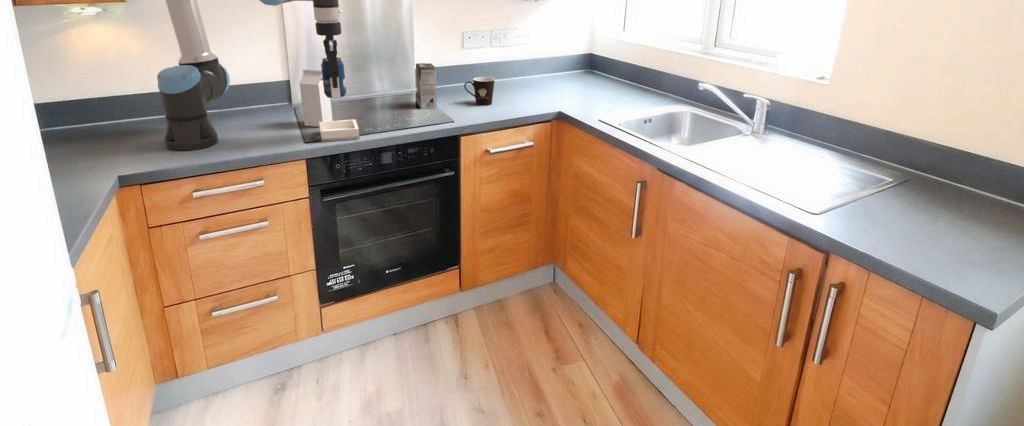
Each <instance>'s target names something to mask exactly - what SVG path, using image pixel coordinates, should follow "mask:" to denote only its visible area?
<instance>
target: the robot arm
mask: <svg viewBox="0 0 1024 426" xmlns="http://www.w3.org/2000/svg"><path fill="white" fill-rule="evenodd" d="M296 1H298V2H301V1H302V2H306V1H307V2H312V5H313V7H312V8H313V14H314V15H313V17H314V20H315V21H316V22H315V31H316V35H318V36H325V37H324V40H322V42H323V46H324V53H325V56H326V58H328V62H329V70H330V75H329V76H328V78H330V85H331V94H332V98H331V99H341V95H340V85H339V77H338V76H339V73H338V66H337V58H338V57H337V56H338V50H337V48H338V42H337V39H335V38H334V36H340V35H341V34H342V24H341V22H340V20H341V18H340V14H341V13H342V10H341V9H340V8H339V0H259V2H260V3H262V4H264V5H267V6H279V5H281V4H285V3H291V2H296ZM165 3H166V7H167V10H168V14H169V17H170V20H171V21H170V22H171V23H172V27H173V31H174V34H175V37H176V40H177V44H178V48H179V51H180V54H181V56H180V58H179V60H178V65H175V66H169V67H166V68H163V69H162V70H160V71H159V72H158V73H157V75H156V79H157V87H158V90H159V95H160V98H161V99H160V100H161V103H162V107H163V112H164V116H165V122H166V124H165V131H164V138H163V141H164V146H165V148H166V149H168V150H172V151H195V150H201V149H205V148H209V147H212V146H214V145H216V144H217V143H219V136H218V133H217V131H216V129H215V127H214V125H213V124H212V122H211V121H210V118H209V116H208V111H207V105H206V104H208V103H210V102H211V101H214V100H215V101H216V99H220V98H221V97H223V95H224V94H225V93H226V92H227V91H228V90H229V87H230V81H231V80H230V74H229V72H228V70H227V69H226V67H224V66H223V65H222V63H220V61H219V57H218V56H217V55H216V54H215V53H214V52H212V50H211V47H210V43H209V40H208V36H207V33H206V29H205V25H204V21H203V19H202V15H201V11H200V7H199V4H198V1H197V0H165ZM332 72H336V73H332Z"/></svg>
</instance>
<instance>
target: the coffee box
mask: <svg viewBox="0 0 1024 426" xmlns="http://www.w3.org/2000/svg"><path fill="white" fill-rule="evenodd" d="M436 70H437V69H436V66H434V65H433V63H431V62H429V63H423V62H422V63H421V62H419V63H415V74H416V75H415V76H416V87H417V88H416V90H417V92H416V93H417V104H418V107H420V109H421V110H429V109H437V105H438V104H437V75H436V74H437V71H436Z"/></svg>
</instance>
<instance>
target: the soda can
mask: <svg viewBox="0 0 1024 426" xmlns="http://www.w3.org/2000/svg"><path fill="white" fill-rule="evenodd" d="M320 66H321V67H320V68H321V71H322V77H323V86H324V93H325V95H326V96H327V97H328V98H330V99H333V98H332V94H331V85H330V78H328V76H329V75H330V70H329V62H328V58H327V57H324V58H322V62H321V64H320ZM337 66H338V73H339V76H338V77H339V85H340V95H341V98H344V97H345V96H346V94H347V86H346V85H347V84H346V83H347V82H346V74H345V67H344V66H345V65H344V62H343V61H342V58H341V57H337ZM332 73H336V72H332ZM341 98H340V99H341Z"/></svg>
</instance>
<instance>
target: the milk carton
mask: <svg viewBox="0 0 1024 426" xmlns="http://www.w3.org/2000/svg"><path fill="white" fill-rule="evenodd" d="M302 72H303V73H302V76H301V78H300V82H299V84H298V85H299V89H300V97H301V98H300V99H301V105H302V106H301V107H302V113H303V122H304V126H306V127H315V128H316V127H318V128H320V126H319V122H324V121H334V119H333V114H332V113H333V111H332V102H331V98H328V97H327V96H326V95H325V93H324V86H323V77H322V70H316V69H303V70H302Z"/></svg>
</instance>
